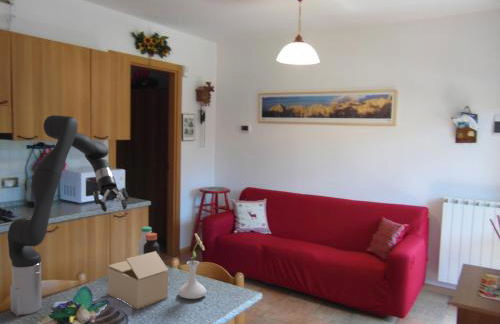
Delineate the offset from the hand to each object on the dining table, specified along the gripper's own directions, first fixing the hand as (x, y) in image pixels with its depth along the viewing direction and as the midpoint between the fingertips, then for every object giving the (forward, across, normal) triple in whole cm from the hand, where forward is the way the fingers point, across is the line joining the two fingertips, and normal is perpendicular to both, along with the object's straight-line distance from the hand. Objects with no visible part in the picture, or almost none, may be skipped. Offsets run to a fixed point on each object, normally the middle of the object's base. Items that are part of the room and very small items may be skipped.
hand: (115, 209), depth 173 cm
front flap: (+31, +2, -7) cm, 32 cm away
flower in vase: (+46, +19, 0) cm, 50 cm away
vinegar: (+26, +14, +19) cm, 36 cm away
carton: (+37, +1, +8) cm, 38 cm away
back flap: (+25, 0, +3) cm, 26 cm away
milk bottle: (+17, +18, +28) cm, 38 cm away
